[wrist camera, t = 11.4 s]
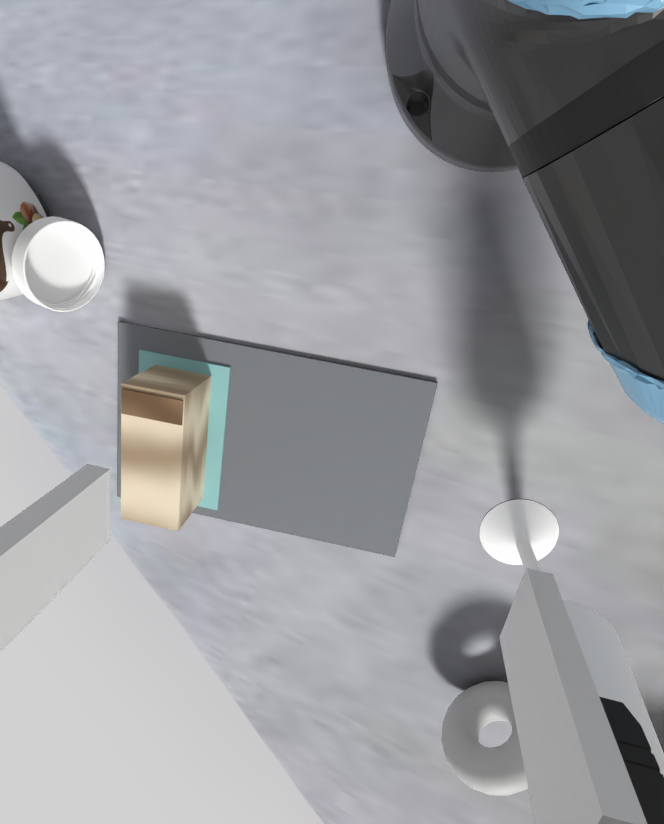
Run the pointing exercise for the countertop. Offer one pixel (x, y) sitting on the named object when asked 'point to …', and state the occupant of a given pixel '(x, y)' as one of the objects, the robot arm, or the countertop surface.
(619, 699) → the champagne flute
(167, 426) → the birch block
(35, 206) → the spread jar
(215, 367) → the pad
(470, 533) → the countertop surface
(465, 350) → the countertop surface
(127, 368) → the rubber mat
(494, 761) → the donut
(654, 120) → the robot arm
